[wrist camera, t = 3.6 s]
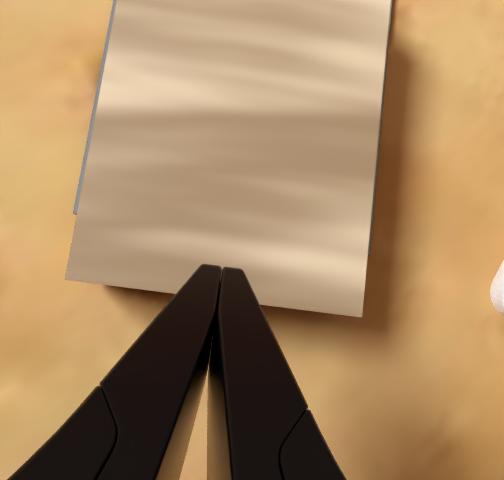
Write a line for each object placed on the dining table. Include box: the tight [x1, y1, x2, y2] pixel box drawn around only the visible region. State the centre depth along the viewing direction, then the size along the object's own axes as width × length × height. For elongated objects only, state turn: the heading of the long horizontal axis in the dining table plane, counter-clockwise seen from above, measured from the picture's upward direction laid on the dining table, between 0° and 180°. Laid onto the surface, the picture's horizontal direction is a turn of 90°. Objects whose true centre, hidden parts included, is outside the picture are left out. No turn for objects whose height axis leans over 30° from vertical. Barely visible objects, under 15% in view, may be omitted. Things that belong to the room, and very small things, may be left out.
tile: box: [65, 0, 391, 317], centre depth 14 cm, size 2×9×12 cm
